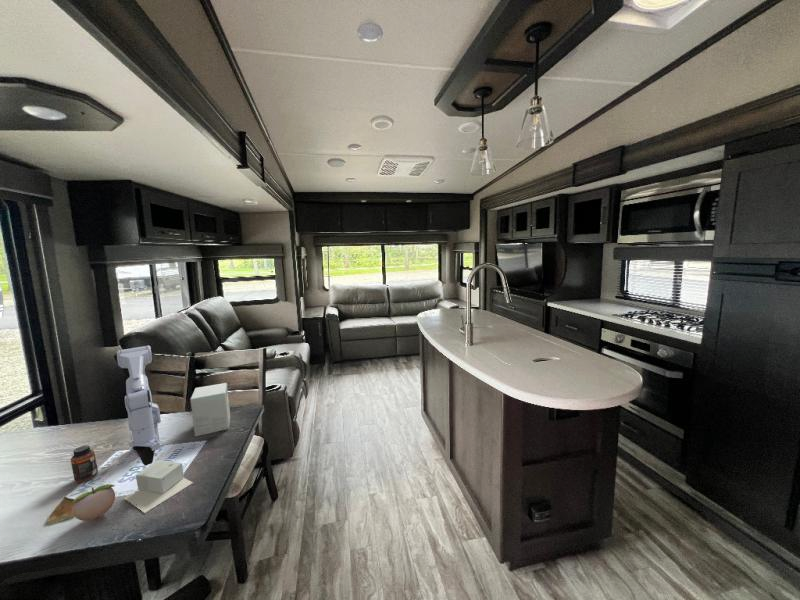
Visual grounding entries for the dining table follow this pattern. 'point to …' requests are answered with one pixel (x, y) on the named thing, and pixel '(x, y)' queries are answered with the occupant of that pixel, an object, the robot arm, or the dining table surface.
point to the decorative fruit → (94, 503)
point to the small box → (159, 476)
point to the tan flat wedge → (62, 511)
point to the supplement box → (210, 409)
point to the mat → (155, 496)
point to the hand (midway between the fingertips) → (148, 463)
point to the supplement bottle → (84, 464)
